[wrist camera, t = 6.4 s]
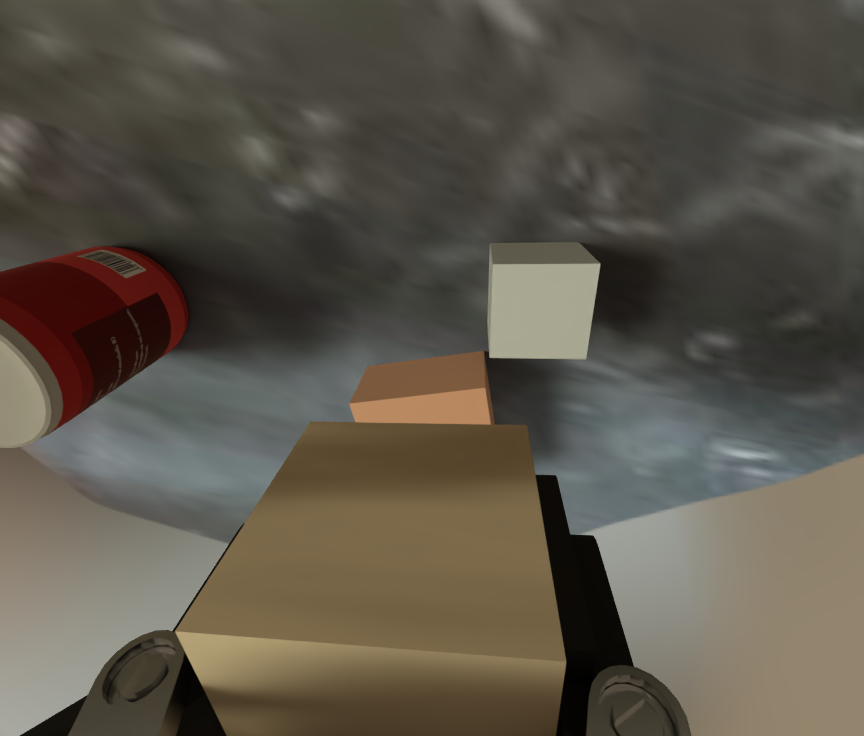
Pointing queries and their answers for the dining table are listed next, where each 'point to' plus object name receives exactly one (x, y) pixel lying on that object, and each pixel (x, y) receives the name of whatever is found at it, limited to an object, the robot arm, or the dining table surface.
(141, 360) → the canned food
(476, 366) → the terracotta block
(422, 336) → the dining table surface
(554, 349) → the pale green-grey cube
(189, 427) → the dining table surface
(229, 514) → the dining table surface
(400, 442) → the maple cube
